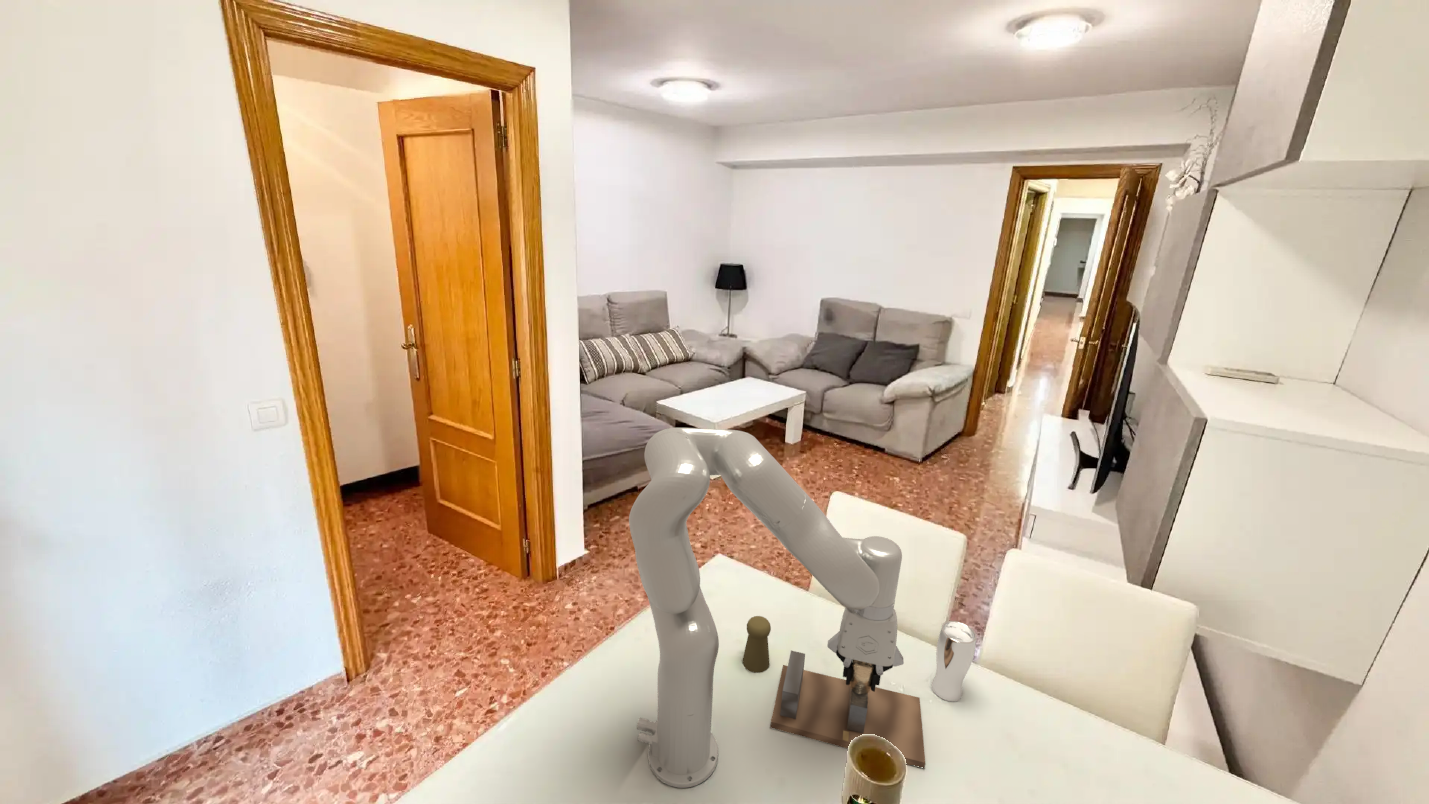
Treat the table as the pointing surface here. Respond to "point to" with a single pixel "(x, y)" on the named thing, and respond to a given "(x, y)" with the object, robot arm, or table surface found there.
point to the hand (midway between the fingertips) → (860, 681)
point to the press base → (844, 711)
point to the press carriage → (859, 694)
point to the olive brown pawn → (757, 645)
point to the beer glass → (953, 659)
